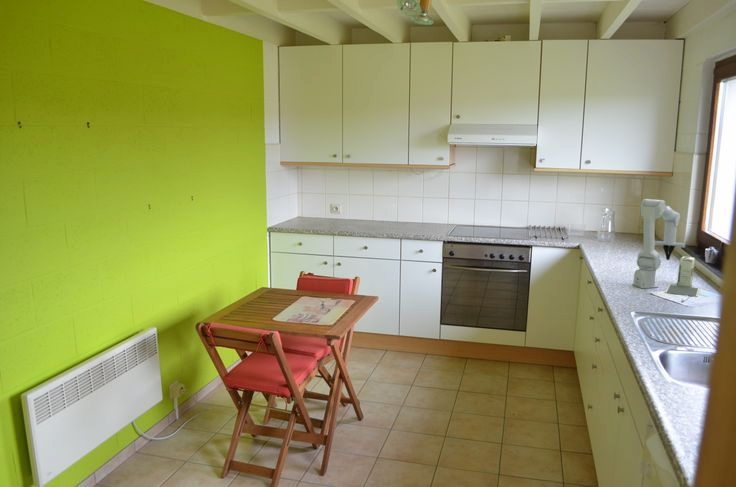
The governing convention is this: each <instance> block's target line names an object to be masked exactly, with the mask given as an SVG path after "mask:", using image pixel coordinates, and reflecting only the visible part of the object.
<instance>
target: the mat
mask: <svg viewBox="0 0 736 487" xmlns="http://www.w3.org/2000/svg"><path fill="white" fill-rule="evenodd" d="M700 289H701V288H700V287H693V286H690V287H686V286H678V285H677V284H668V285H667V287H666V289H665V291H664V294H668V295H669V294H671V295H677V296H685V295H688V296H687V297H693V296H697V297H696V298H698V297H699V294H700V293H699V292H700V291H701V290H700Z"/></svg>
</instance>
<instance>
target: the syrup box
mask: <svg viewBox="0 0 736 487" xmlns="http://www.w3.org/2000/svg"><path fill="white" fill-rule="evenodd" d="M695 262H696V257H692V256H682V257H680V258H679V265H678V266H679V267H678V274H677V283H676V285H677V286H686V287H692V285H693V276H694V269H695Z"/></svg>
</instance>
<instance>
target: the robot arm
mask: <svg viewBox="0 0 736 487" xmlns="http://www.w3.org/2000/svg"><path fill="white" fill-rule="evenodd" d="M640 216H641V217H642V218H643V250H641V251H639V252H638V253H637V258H636V265H637V267H638V269H636V270H635V271H634V273H633V274H634V275H633V283H632V286H635V287H638V288H641V289H652V288H659V286H658V285H657V284H656V273H657V270H659V268H660V267H661V265H662V264H661V263H662V260H661V255H660V253H659V252H658V251H657V250H655V246H662V248H663V251H664V253H665V259H666V260H667V261H670V259H671V255H672V253H673V251H674V249H675V248H677V247H678V248H686V243H685V242H677V231H678V226H679V222H680V221H681V220H680V219H681V213H679V212H678V211H675V210H674V209H672V208H671V205H670V206H669V205H666V201H665V199H664V200H663V199H651V198H644V199H643V200H642V201H641V203H640ZM660 217H662V218H663V222H664V231H663V241H662V240H660V241H659V240H656V239H655V237H656V236H655V234H656V233H655V223H656V221H655V220H657V219H659V218H660Z"/></svg>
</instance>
